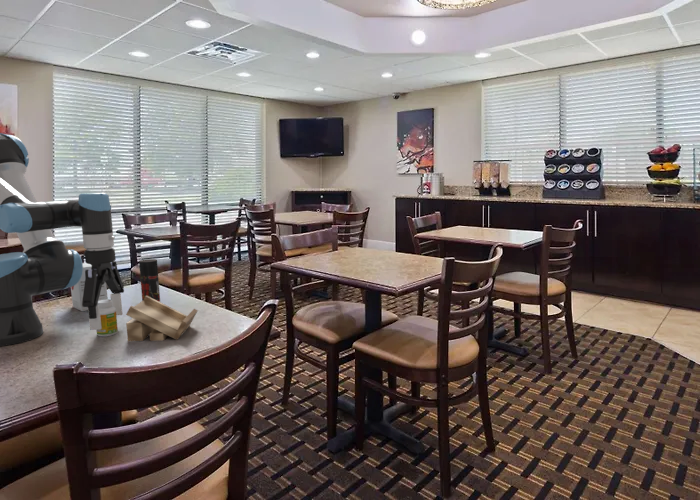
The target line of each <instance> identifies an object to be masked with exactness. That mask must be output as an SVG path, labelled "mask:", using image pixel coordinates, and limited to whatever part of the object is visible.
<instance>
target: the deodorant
mask: <svg viewBox="0 0 700 500" xmlns="http://www.w3.org/2000/svg"><path fill="white" fill-rule="evenodd" d="M138 262H139V263H138V264H139V278H140V279H139V280H140V289H141V291H140V292H141V302H142V301H143V300H144V298H145V296H146V295H147V296H149V297H151V298H153V299H155V300H157V301H159V302H161V295H160V294H161V293H160V282H159V269H158V259H155V258H149V259H148V258H146V259H141V260H139V261H138Z"/></svg>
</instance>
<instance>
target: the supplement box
mask: <svg viewBox="0 0 700 500" xmlns="http://www.w3.org/2000/svg"><path fill="white" fill-rule="evenodd" d="M82 264H83V271H82V276H81V279H80V281H79V282H78V283H77V284H76V285H74V286H72V287H70V292H71V293H70V294H71V303H72V308H74V309H76V310H79V311H80V312H84V311H85V312H86V311H88V307H83V306H82V301H83V293H84V286H85V270H91V268H92V265H91V264H87V263H86V262H82ZM107 288H108V286H107V284H106V282H105V283H104V284H103V285H102V287H101V292H100V296H99V300H98V301H100V300H107V299H108V289H107Z"/></svg>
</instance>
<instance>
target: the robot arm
mask: <svg viewBox="0 0 700 500" xmlns="http://www.w3.org/2000/svg"><path fill="white" fill-rule="evenodd" d="M28 156H29V152H28V149H27V147H26V145H25V144H24V143H23V142H22V140H21V139H20V138H18V137H17V136H15V135H12V134H5V133H2V132H0V230H1V231H2V232H3V233H6V234H13V233H16V235H17V237H18V239H19V241H20V244H21V245H22V248H23V250H22V252H21V251H16V252H15V251H14V252H13V251H12V252H8V253H1V254H0V347H3V346H11V345H16V344H20V343H24V342H27V341H31V340H34V339H36V338H39V337H40V336H42V335H43V334H44V328H43V323H42V322H41V320H40V318H39V316H38V313H36V310H35V308H34V305H33V296H34V297H35V296H38V295H43V294H46V293H51V292H56V291H63V290H66V289H68V288H71V287H72V286H74V285H76V284H77V283H78V282H79V281H80V279H81V276H82V271H83V264H82V263H83V259H82V257H81V255H80V253H78V251H77V250H75V249H71V248H68V249H67V247H66V245H65V243H64V241H63V240H60V239H58V238H57V239H56V237H55V236H54V233H53V231H52V230H53V229H64V228H65V229H66V228H78V227H79V228H80V227H81V231H82V233H81V235H82V243H83V249H85V251H84V259H85V260H84V261H85V263H87V264H91V265H92V268H91V270H85V286H84V293H83V301H82V306H83V307H88V310H87V312H88V313H87V314H88V322H89V323H88V324H89V330H90V331H93V330H96V331H97V330H100V329H102V327H101V317H100V308H99V306H97V304H98V300H99V296H100V292H101V287H102V285H103V284H104V283H105V282H106V286H107V288H108V289H109V290H110V292H111V293H110V294H109V295H110V297H109V298H110V300H112V303H113V305H112V307H114V308H115V309H116V316H122V315H124V314H123V305H122V295H121V294H122V293H123V294H124V292H125V288H124V284H123V281H122V277H121V275H120V272H119V269H118V264H117V261H116V257H117V256H116V250H115V248H114V246H115V242H114V240H115V238H116V237H115V236H114V232H113V231H114V229H113V220H112V218H113V217H112V206H111V201H110V197H109V194H108V193H106V192H89V193H87V192H86V193H80V194H79V195H78V200H76V199H75V200H73V199H61V200H56V201H55V200H53V201H37V200H36V197H35V195H34V193H33V191H32V189H31V187H30V185H29V182H28V181H27V179H26V177H25V174H26V172H27V168H28V165H29V161H30V158H29V157H28Z"/></svg>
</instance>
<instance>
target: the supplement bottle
mask: <svg viewBox="0 0 700 500" xmlns="http://www.w3.org/2000/svg"><path fill="white" fill-rule="evenodd" d="M112 305H113V303H112V300H111V299H107V300H100V301H98V304H97V306H99V308H100V317H101V327H102V329H100V330H96V336H98V337H111V336H115V335H116V334H118V331H119V330H118V318H117V317H118V315H116V309H115V308H114V307H112Z"/></svg>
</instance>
